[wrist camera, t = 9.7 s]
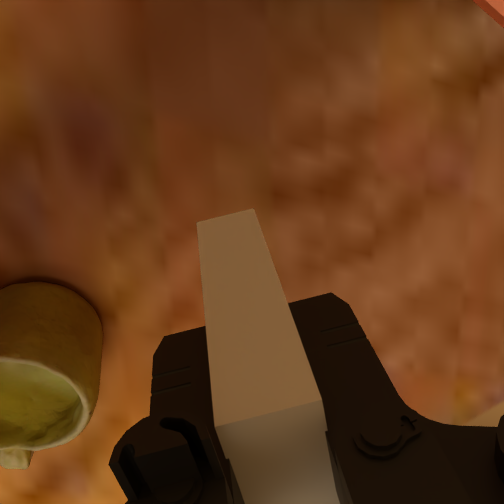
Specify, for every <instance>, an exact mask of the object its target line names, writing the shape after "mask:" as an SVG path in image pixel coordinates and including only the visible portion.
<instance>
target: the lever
mask: <svg viewBox="0 0 504 504" xmlns="http://www.w3.org/2000/svg"><path fill="white" fill-rule="evenodd" d="M473 1H474V2H475V3H476V4H477V5H478V6H479V7H480V8H482V9H483V10H484V11H485V12H486V13H487V14H488V15H489V16H491V17H492V18H493V19H494V20H495V21H496V22H497V23H498V24H500V25H501V26H502V27H503V28H504V0H473Z"/></svg>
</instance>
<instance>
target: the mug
mask: <svg viewBox="0 0 504 504" xmlns="http://www.w3.org/2000/svg"><path fill="white" fill-rule="evenodd" d="M102 343H103V332H102V326H101V322H100V320H99V318H98V315H97V313H96V311H95V310H94V308H93V307H92V306H91V305H90V304H89V303H88V302H87V301H86V300H85V299H84V298H82V297H81V296H80V295H78V294H77V293H75V292H74V291H72V290H70V289H69V288H67V287H64V286H61V285H58V284H51V283H47V282H38V281H35V282H29V283H18V284H12V285H10V286H7V287H5V288H3V289H1V290H0V465H1V466H2V467H4V468H6V469H27V468H28V467H29V465H30V461H31V458H32V456H33V453H34V451H37V450H43V449H47V448H52V447H56V446H59V445H63V444H65V443H68V442H69V441H71V440H72V439H74V438H75V437H76V436H78V435H79V434H80V433H81V432H82V431H83V430H84V428H85V427H86V426H87V424H88V423H89V421H90V419H91V417H92V414H93V412H94V409H95V406H96V403H97V399H98V394H99V385H100V373H101V358H102Z"/></svg>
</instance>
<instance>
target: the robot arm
mask: <svg viewBox="0 0 504 504" xmlns="http://www.w3.org/2000/svg"><path fill="white" fill-rule="evenodd" d="M196 224H197V235H198V246H199V257H200V268H201V280H202V291H203V302H204V313H205V325H206V326H203V327H199V328H195V329H191V330H187V331H183V332H179V333H175V334H171V335H167V336H164V338H163V339H162V341H161V343H160V345H159V346H158V348H157V350H156V352H155V353H154V355H153V368H152V377H153V379H152V384H151V394H152V396H151V401H150V416H148V417H146V418H143V419H142V420H140V421H139V422H138V423H136V424H135V425H134V426H132V427H131V428H130V429H128V430H127V431H126V432H125V434H124V435H123V436H122V438H121V439H120V440H119V441H118V443H117V444H116V445H115V447H114V450H113V452H112V455H111V458H110V461H109V466H110V468H111V470H112V472H113V473H114V475H115V477H116V479H117V481H118V482H119V484H120V486H121V488H122V490H123V491H124V493H125V495H126V497H127V499H128V501H127V502H126V503H125V504H504V415H503V416H502V417H501V418H500V421H499V424H498V427H482V426H457V425H449V424H442V423H439V422H436V421H433V420H429V419H427V418H425V417H423V416H421V415H420V414H418V413H417V412H416V411H415V410H413V409H411V408H410V407H408V406H407V405H406V404H405V403H404V401H403V400H402V399H401V397H400V396H399V395H398V393H397V391H396V389H395V388H394V386H393V384H392V382H391V380H390V378H389V377H388V375H387V373H386V371H385V369H384V367H383V366H382V364H381V362H380V360H379V358H378V357H377V355H376V353H375V351H374V349H373V347H372V346H371V344H370V342H369V340H368V339H367V338H366V335H365V333H364V331H363V329H362V327H361V326H360V325H359V323H358V320H357V318H356V316H355V315H354V313H353V311H352V309H351V307H350V306H349V304H348V303H346V302H345V301H343V300H342V299H340V298H339V297H337V296H336V295H334V294H333V293H327V294H323V295H319V296H315V297H311V298H307V299H303V300H299V301H295V302H292V303H287V300H286V297H285V294H284V292H283V289H282V286H281V283H280V280H279V278H278V275H277V272H276V269H275V266H274V264H273V261H272V258H271V255H270V252H269V249H268V247H267V244H266V241H265V238H264V235H263V233H262V230H261V227H260V224H259V221H258V219H257V216H256V213H255V210H254V208H252V209H248V210H244V211H240V212H236V213H232V214H228V215H224V216H220V217H216V218H212V219H208V220H204V221H200V222H196Z"/></svg>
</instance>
